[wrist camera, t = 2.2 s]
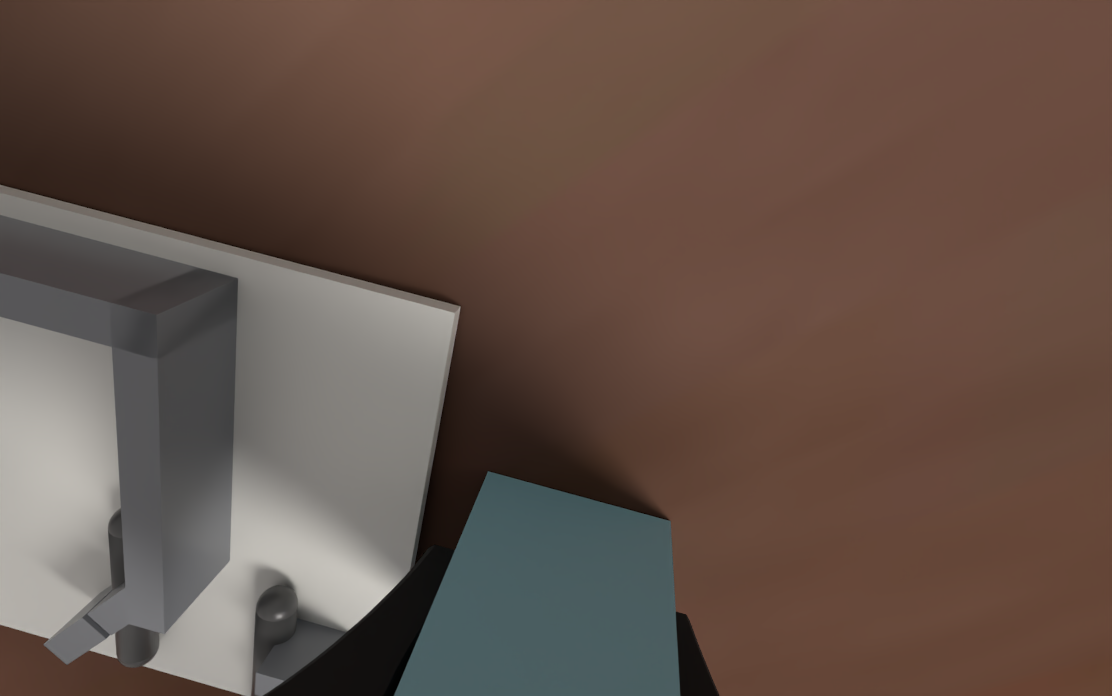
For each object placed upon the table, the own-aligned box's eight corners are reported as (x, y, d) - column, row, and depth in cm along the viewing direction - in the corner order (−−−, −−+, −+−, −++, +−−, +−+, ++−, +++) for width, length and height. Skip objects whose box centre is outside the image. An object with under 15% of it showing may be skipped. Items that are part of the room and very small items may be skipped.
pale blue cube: (614, 672, 15) (596, 1003, 10) (453, 627, 15) (344, 927, 10) (670, 520, 13) (687, 820, 8) (488, 471, 14) (379, 731, 8)
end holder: (240, 549, 15) (164, 634, 13) (-36, 472, 16) (-159, 541, 13) (249, 272, 13) (156, 314, 10) (-85, 184, 13) (-254, 204, 10)
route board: (384, 731, 17) (352, 809, 15) (-19, 615, 17) (-97, 676, 16) (460, 306, 12) (427, 344, 10) (-101, 158, 13) (-229, 169, 11)
